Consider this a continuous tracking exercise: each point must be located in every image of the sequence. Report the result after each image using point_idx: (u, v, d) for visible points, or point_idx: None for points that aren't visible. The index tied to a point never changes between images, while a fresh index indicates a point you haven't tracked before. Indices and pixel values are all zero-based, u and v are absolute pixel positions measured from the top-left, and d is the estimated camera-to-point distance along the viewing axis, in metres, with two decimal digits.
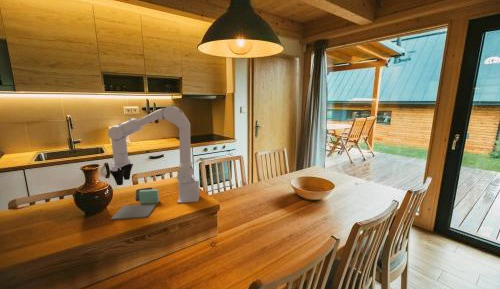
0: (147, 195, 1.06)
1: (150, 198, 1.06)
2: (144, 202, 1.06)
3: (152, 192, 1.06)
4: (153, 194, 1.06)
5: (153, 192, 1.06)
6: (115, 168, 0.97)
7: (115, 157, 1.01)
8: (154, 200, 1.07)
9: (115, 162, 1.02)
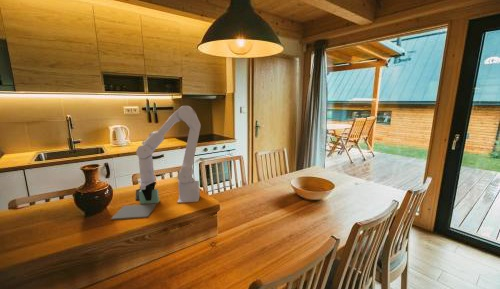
0: None
1: None
2: (144, 202, 1.06)
3: (152, 192, 1.06)
4: (153, 194, 1.06)
5: (153, 192, 1.06)
6: (143, 187, 0.99)
7: (142, 175, 1.03)
8: (154, 200, 1.07)
9: (142, 180, 1.03)
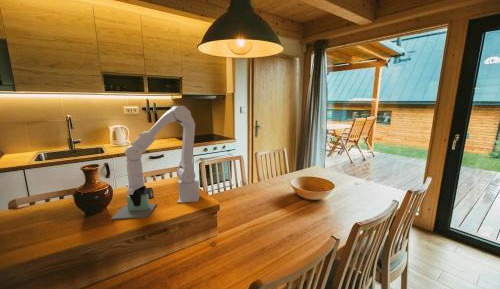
0: None
1: None
2: (132, 208, 0.98)
3: (141, 198, 0.98)
4: (142, 200, 0.98)
5: (142, 198, 0.98)
6: (131, 191, 0.91)
7: (130, 179, 0.94)
8: (143, 206, 0.99)
9: (130, 184, 0.95)
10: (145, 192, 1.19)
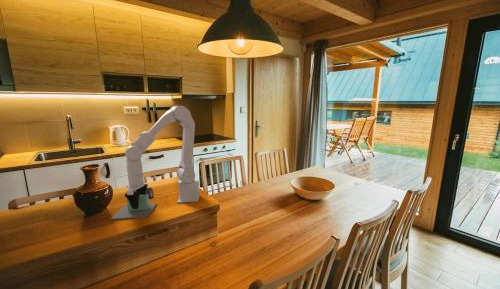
0: None
1: (139, 204, 0.98)
2: None
3: (141, 198, 0.98)
4: (142, 200, 0.98)
5: (142, 198, 0.98)
6: (131, 192, 0.91)
7: (130, 179, 0.95)
8: (143, 206, 0.99)
9: (130, 184, 0.95)
10: None
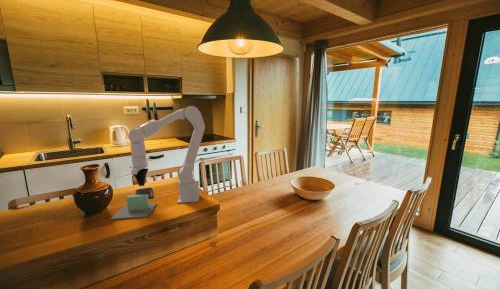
0: (136, 201, 0.98)
1: (139, 204, 0.98)
2: (132, 208, 0.98)
3: (141, 198, 0.98)
4: (142, 200, 0.98)
5: (142, 198, 0.98)
6: (135, 171, 0.95)
7: (134, 160, 0.99)
8: (143, 206, 0.99)
9: (134, 165, 1.00)
10: (145, 192, 1.19)
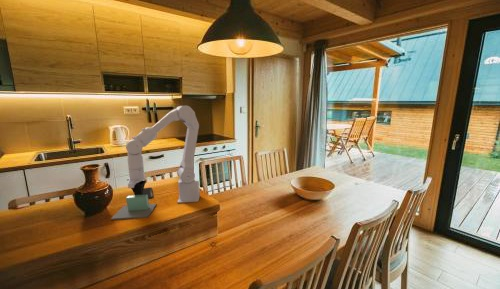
0: (135, 201, 0.97)
1: (139, 204, 0.98)
2: (132, 209, 0.98)
3: (141, 198, 0.97)
4: (142, 200, 0.98)
5: (142, 198, 0.97)
6: (132, 185, 0.92)
7: (131, 172, 0.96)
8: (143, 206, 0.98)
9: (131, 178, 0.96)
10: (145, 192, 1.19)
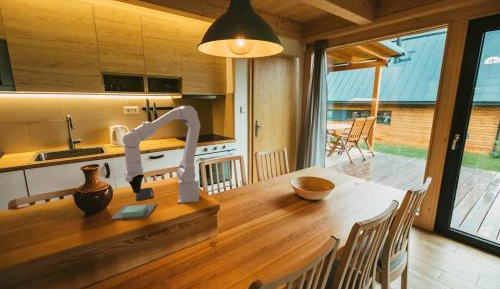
0: None
1: None
2: None
3: None
4: None
5: None
6: (129, 178, 0.89)
7: (128, 166, 0.93)
8: None
9: (128, 171, 0.94)
10: (145, 192, 1.19)
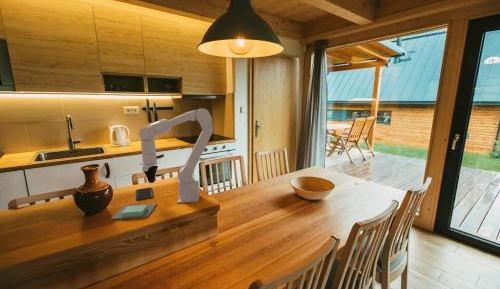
0: None
1: None
2: None
3: None
4: None
5: None
6: (146, 168, 0.97)
7: (144, 157, 1.01)
8: None
9: (144, 162, 1.01)
10: (145, 192, 1.19)
